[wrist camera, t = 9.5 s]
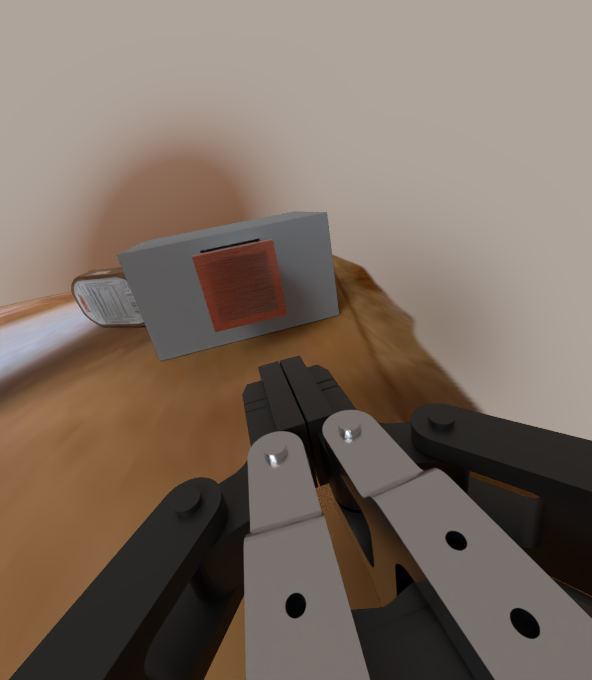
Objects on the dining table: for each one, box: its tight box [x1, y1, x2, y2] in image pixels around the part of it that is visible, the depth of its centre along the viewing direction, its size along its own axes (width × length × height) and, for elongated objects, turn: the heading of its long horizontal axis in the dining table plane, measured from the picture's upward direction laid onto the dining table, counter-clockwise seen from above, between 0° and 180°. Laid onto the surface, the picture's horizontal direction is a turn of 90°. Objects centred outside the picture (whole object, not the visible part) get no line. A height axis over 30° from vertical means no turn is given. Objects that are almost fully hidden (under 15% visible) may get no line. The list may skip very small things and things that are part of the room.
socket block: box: [117, 212, 339, 361], centre depth 38 cm, size 14×20×11 cm
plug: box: [192, 239, 288, 333], centre depth 32 cm, size 16×6×6 cm, turn 15°
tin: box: [71, 267, 145, 327], centre depth 45 cm, size 15×3×8 cm, turn 69°
